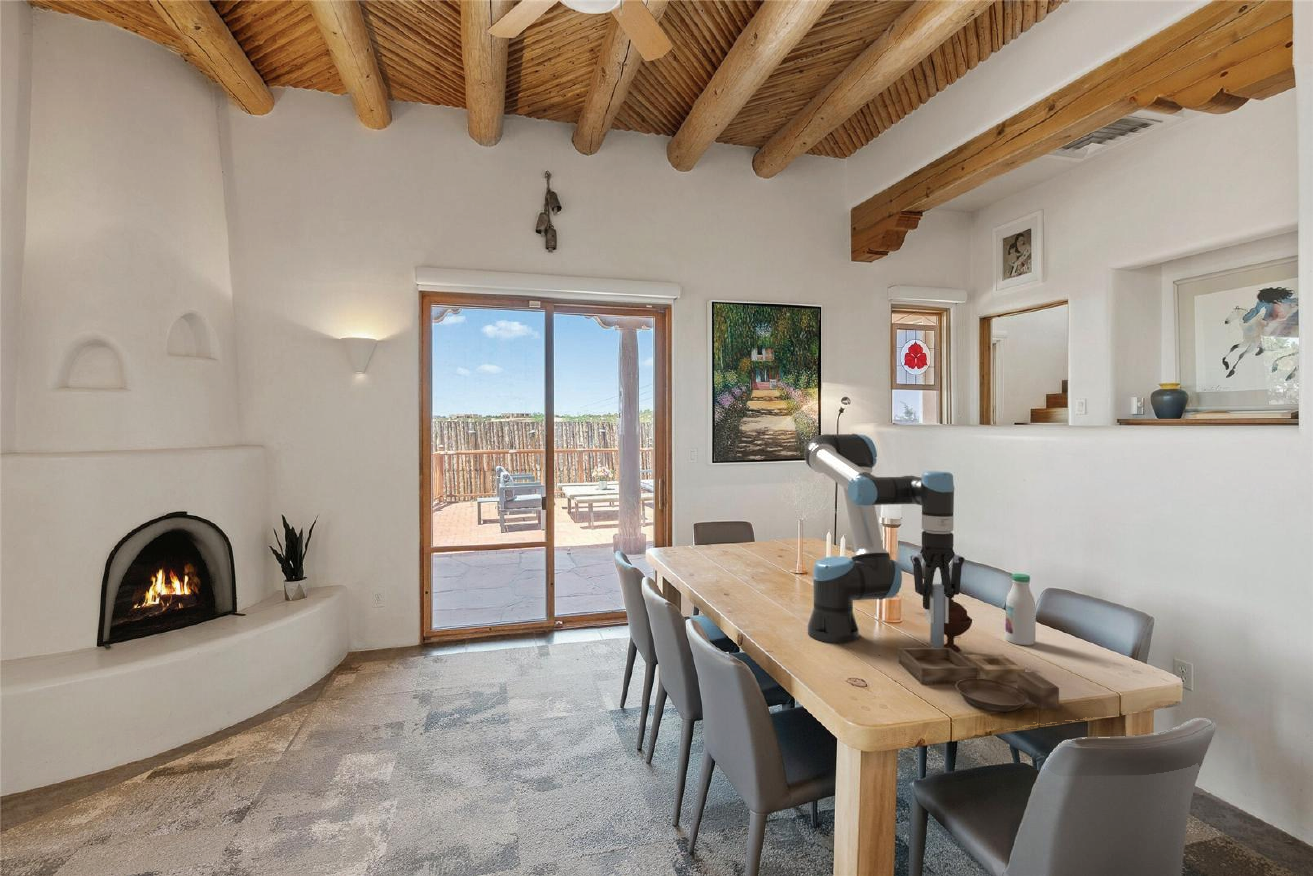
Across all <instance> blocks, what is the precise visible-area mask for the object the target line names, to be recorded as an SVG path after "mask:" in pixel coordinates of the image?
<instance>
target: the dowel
mask: <svg viewBox="0 0 1313 876" xmlns="http://www.w3.org/2000/svg"><path fill="white" fill-rule="evenodd" d="M931 597H933V598H934V623H930V622H929V623H930V627H929V628H930V629H929V630H930V631H929V632H930V634H929V635H930V637H929V639H930V640H929V641H930V645H929V646H930V648H937V649H942V648H944V644H945V634H944V585H942V583H933V585H932V591H931Z"/></svg>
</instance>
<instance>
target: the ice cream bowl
mask: <svg viewBox="0 0 1313 876" xmlns="http://www.w3.org/2000/svg"><path fill="white" fill-rule="evenodd" d="M972 624H973V619H972V618H971V617H970V616H969V615H968V611H967V609H966V608H965V607H964V606H963V605H962V604H960V603H959V602H957V601H955V600H954V598H952V608H951V609H948V623H945V622H944V636H946V638H947V639H946V643H944V648H951V649H952V650H953V651H955V652H956V653H958V654H959V653H961V652H962V649H961V648H960V646H958V645H957V644H955V637H958V636H961V635H963V634H964V633H966V632H967V631H969V629H970V628H971V627H972Z"/></svg>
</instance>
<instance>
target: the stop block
mask: <svg viewBox="0 0 1313 876" xmlns="http://www.w3.org/2000/svg"><path fill="white" fill-rule="evenodd" d="M1016 683H1017V684H1016V685H1017V687H1016V688H1018V689H1020V690H1022V691H1023V692H1024V693H1025V694H1026V695H1027V697H1028V700H1027V701H1029V702H1030V703H1032V704H1033V705H1034V706H1036V707H1037V708H1039V709H1040V711H1041V710H1059V709H1060V707H1059V706H1060V687H1058V686H1057V685H1056V684H1054V683H1053V682H1051V681H1049V680H1048V679H1046V678H1045V677H1043V676H1042V675H1040V674H1039V673H1037V672H1035V671H1025V672H1017V681H1016Z"/></svg>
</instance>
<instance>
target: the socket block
mask: <svg viewBox="0 0 1313 876" xmlns="http://www.w3.org/2000/svg"><path fill="white" fill-rule="evenodd" d="M964 659H966V660H967V661H969V662H970V663H971V664H973V665H974V666H975V667H977V668H978V672H977V677H980V679H988V680H994V681H999V682H1017V672H1026V668H1024V667H1023V666H1021V665H1019V664H1018V663H1017V662H1015V661H1014V660H1012V659H1010V658H1009V657H1007V656H1005V655H1004V654H965V656H964Z"/></svg>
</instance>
